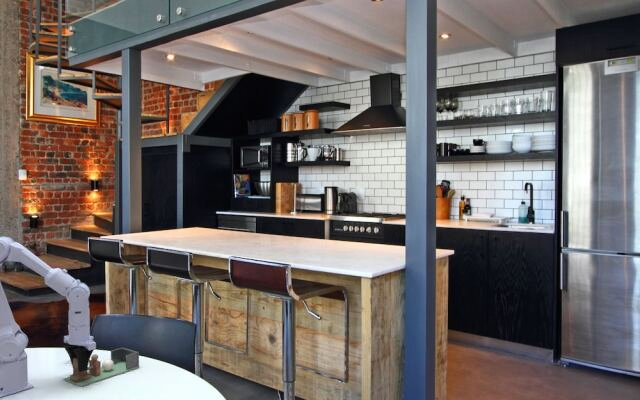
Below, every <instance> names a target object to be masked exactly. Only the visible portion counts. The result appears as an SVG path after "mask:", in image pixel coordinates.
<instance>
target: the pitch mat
mask: <svg viewBox="0 0 640 400" xmlns="http://www.w3.org/2000/svg"><path fill="white" fill-rule="evenodd" d="M138 369H139V368H138V367H135V368H132V369H129V370H126V363H124V362H120V363H117V364H114V367H113V368H112V369H111V370H110V371H105V370H103V368H102V366H101V374H100V375H97V376H96V375H93V374H91V378H88V379H84V380H81V381H78V382H76V381H73V380H70V376H67V377H64V378H63V381H65V382H67V383H70V384H73V385H75V386H78V387H80V388H82V387H86V386H89V385H92V384H95V383H98V382H101V381H104V380H107V379H108V380H109V379H110V378H114V377H117V376H120V375H122V374H125V373H129V372H132V371H135V370H138ZM87 372H88V373H89V370H88V371H87Z"/></svg>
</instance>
